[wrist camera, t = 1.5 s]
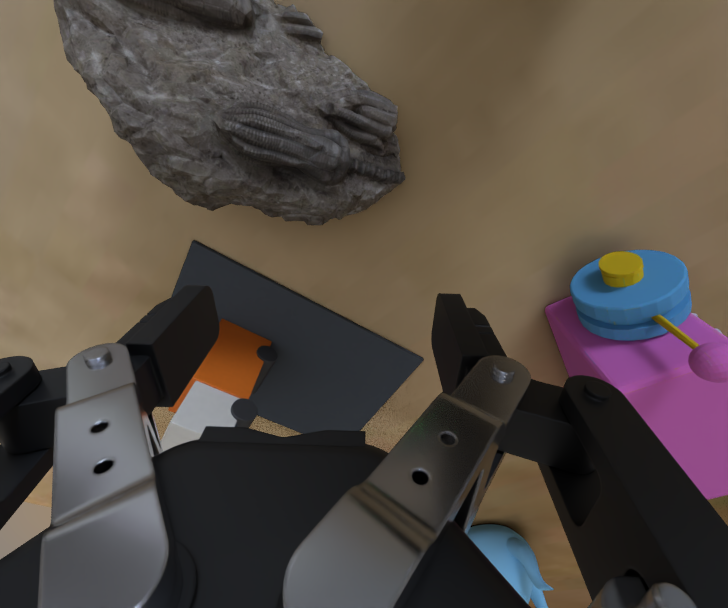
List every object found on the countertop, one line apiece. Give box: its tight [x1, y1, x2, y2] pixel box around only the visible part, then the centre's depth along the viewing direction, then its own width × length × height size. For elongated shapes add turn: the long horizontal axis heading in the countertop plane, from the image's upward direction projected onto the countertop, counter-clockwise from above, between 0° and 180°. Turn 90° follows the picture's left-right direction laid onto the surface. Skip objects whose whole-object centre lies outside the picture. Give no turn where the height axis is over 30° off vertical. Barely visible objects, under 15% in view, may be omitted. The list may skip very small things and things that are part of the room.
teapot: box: [467, 524, 554, 608], centre depth 54 cm, size 15×15×10 cm
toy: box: [545, 250, 728, 500], centre depth 31 cm, size 28×9×15 cm, turn 30°
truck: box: [161, 319, 278, 451], centre depth 33 cm, size 7×5×13 cm
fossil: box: [54, 0, 406, 225], centre depth 24 cm, size 22×10×15 cm
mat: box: [171, 240, 423, 434], centre depth 39 cm, size 26×18×1 cm
